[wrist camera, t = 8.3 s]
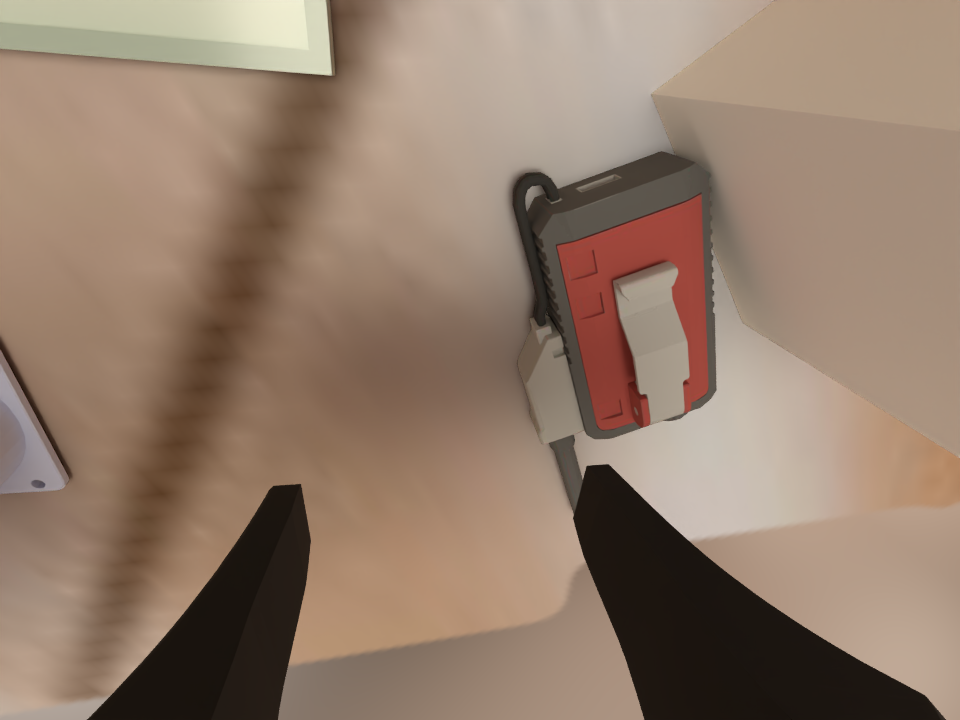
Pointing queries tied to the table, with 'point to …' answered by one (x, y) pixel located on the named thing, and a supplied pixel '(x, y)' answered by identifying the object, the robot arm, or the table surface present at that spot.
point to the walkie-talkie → (617, 302)
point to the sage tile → (178, 31)
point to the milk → (839, 191)
